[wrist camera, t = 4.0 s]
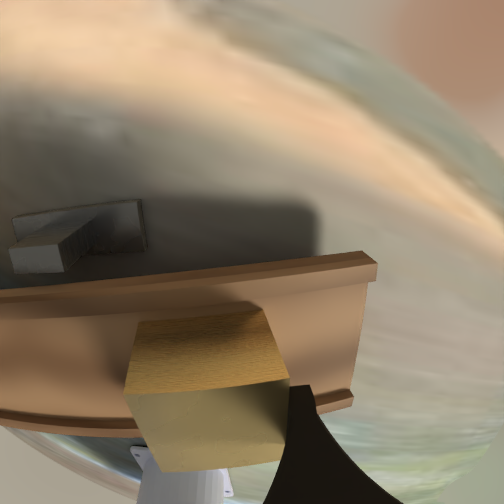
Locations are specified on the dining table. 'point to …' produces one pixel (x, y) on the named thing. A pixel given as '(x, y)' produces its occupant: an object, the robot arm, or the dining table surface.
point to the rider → (209, 391)
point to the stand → (75, 235)
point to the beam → (164, 308)
